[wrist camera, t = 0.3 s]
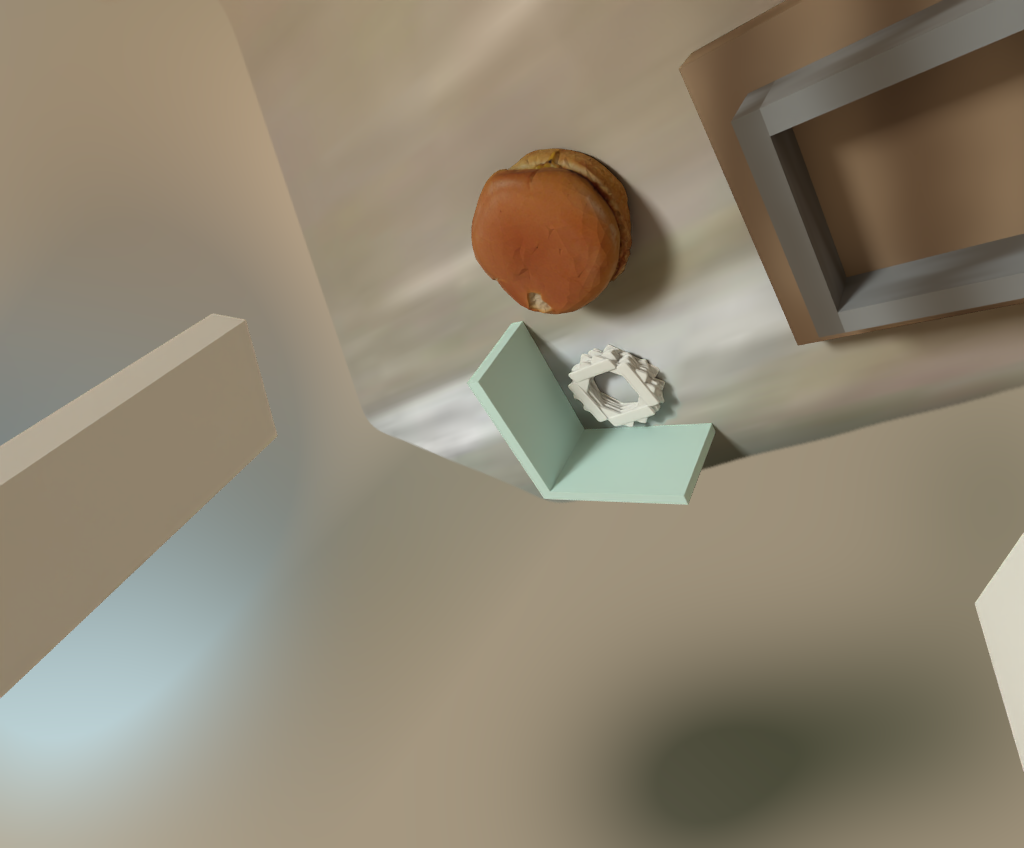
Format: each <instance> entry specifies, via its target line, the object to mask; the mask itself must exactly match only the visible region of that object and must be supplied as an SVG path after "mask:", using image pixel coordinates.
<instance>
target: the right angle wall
mask: <svg viewBox="0 0 1024 848" xmlns="http://www.w3.org/2000/svg"><path fill="white" fill-rule="evenodd" d="M580 359H581V361H580V363H579V364H577V365H575V366H574V367H573V368H572V369H571V370H572V372H571V373H569V377H570V378H571V379H572V382H571V384H569V385H568V388H569V389H570V390H571V391H572V392H573V393H574V396H573V397H574V398H575V399H577V400H580V401H581V402H582V404H583V409H584V410H586V411H589V412H591V414H592V415H593V416H594V417H595V418H596V419H597V420H598V421H599V422H602V421H605V420H607V419H608V420H609V421H610V422H611V423H612V424H613V425H614V426H616V427H617V426H620V425H626V426H629V427H623V428H603V429H584V428H583V426H582V424H581V422H580V421H579V419H578V417H577V415H576V414H575V412H574V410H573V408H572V407H571V405H570V403H569V401H568V400H567V398H566V396H565V394H564V393H563V391H562V389H561V387H560V386H559V384H558V382H557V380H556V379H555V377H554V375H553V373H552V372H551V370H550V368H549V366H548V365H547V363H546V361H545V359H544V358H543V356H542V354H541V352H540V351H539V349H538V347H537V345H536V344H535V342H534V340H533V338H532V337H531V335H530V333H529V331H528V330H527V328H526V326H525V324H524V323H523V321H521V322H515V323H512V324H511V325H510V326H509V328H508V329H507V330H506V332H505V333H504V334H503V336H502V337H501V338H500V340H499V341H498V342H497V344H496V345H495V346H494V348H493V349H492V350H491V352H490V353H489V354H488V356H487V357H486V358H485V360H484V361H483V362H482V364H481V365H480V366H479V368H478V369H477V370H476V372H475V373H474V374H473V376H472V377H471V378H470V380H469V381H468V383H467V384H468V385H469V387H470V388H471V390H472V391H473V393H474V394H475V396H476V397H477V399H478V400H479V402H480V403H481V405H482V406H483V408H484V409H485V411H486V412H487V414H488V415H489V417H490V418H491V420H492V421H493V423H494V424H495V426H496V427H497V429H498V430H499V432H500V433H501V435H502V436H503V438H504V439H505V441H506V442H507V444H508V445H509V447H510V448H511V450H512V451H513V453H514V454H515V456H516V457H517V459H518V460H519V462H520V463H521V465H522V466H523V468H524V469H525V471H526V472H527V474H528V475H529V477H530V478H531V480H532V481H533V483H534V484H535V486H536V487H537V489H538V490H539V492H540V493H541V495H542V496H543V497H544V499H561V500H586V501H612V502H635V503H660V504H686V505H688V504H689V501H690V498H691V496H692V493H693V490H694V488H695V485H696V482H697V480H698V477H699V475H700V472H701V469H702V467H703V464H704V461H705V459H706V456H707V453H708V451H709V448H710V446H711V443H712V440H713V438H714V435H715V429H714V427H713V425H712V423H705V424H685V425H664V426H644V427H633V425H634V421H638V422H641V423H646V422H647V419H648V417H649V416H652V415H654V414H655V413H656V411H658V410H659V408H660V407H661V406H660V405H659V403H663V402H664V398H663V393H662V392H661V391H662V390H663V386H664V385H665V382H664V381H662V380H660V379H657V378H655V377H656V376H657V374H658V372H659V368H657V367H655V366H653V365H651V364H649V363H648V362H647V361H646V360H645V359H639V358H637V357H635V356H632V355H631V354H630V353H629V352H624V351H622V350H620V349H618V348H616V347H614V346H611V345H607V347H606V349H604V350H603V352H602V351H601V350H599V349H596V348H594V349H593V350H590V351H589V353H588V355H587V354H582V355H581V358H580ZM608 371H609V372H612V373H615V374H618V375H621V376H623V377H624V378H625V379H626V380H627V382H628V383H629V384H630V385H631V386H632V388H633V389H634V390H635V391H636V392H637V393H638V395H639V399H638V402H632V403H622V402H620V401H618V400H616V399H614V398H612V397H610V396H608V395H606V394H604V393H602V392H600V391H599V389H598V387H597V385H596V383H595V381H594V378H595V376H597V375H599V374H602V373H605V372H608Z"/></svg>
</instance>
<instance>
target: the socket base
mask: <svg viewBox="0 0 1024 848" xmlns="http://www.w3.org/2000/svg"><path fill="white" fill-rule="evenodd" d="M679 71H680V73H681V75H682V77H683V80H684V82H685V84H686V87H687V89H688V91H689V94H690V96H691V98H692V101H693V103H694V105H695V108H696V110H697V112H698V115H699V117H700V119H701V122H702V124H703V126H704V129H705V131H706V133H707V136H708V138H709V140H710V142H711V145H712V147H713V149H714V152H715V154H716V156H717V159H718V161H719V163H720V166H721V168H722V170H723V173H724V175H725V177H726V180H727V182H728V184H729V187H730V189H731V191H732V194H733V196H734V198H735V201H736V203H737V205H738V207H739V210H740V212H741V214H742V217H743V219H744V221H745V224H746V226H747V228H748V231H749V233H750V235H751V238H752V240H753V242H754V245H755V247H756V249H757V252H758V254H759V256H760V259H761V261H762V263H763V266H764V268H765V270H766V272H767V275H768V277H769V279H770V282H771V284H772V286H773V289H774V291H775V293H776V296H777V298H778V300H779V303H780V305H781V307H782V310H783V312H784V314H785V317H786V319H787V321H788V324H789V326H790V328H791V331H792V333H793V335H794V337H795V340H796V342H797V344H798V345H803V344H808V343H814V342H819V341H824V340H829V339H835V338H840V337H845V336H851V335H856V334H861V333H867V332H872V331H877V330H882V329H888V328H893V327H898V326H904V325H909V324H914V323H920V322H925V321H930V320H935V319H941V318H946V317H951V316H957V315H962V314H967V313H973V312H978V311H983V310H988V309H994V308H999V307H1004V306H1010V305H1015V304H1020V303H1024V0H786V1H784V2H782V3H781V4H779V5H777V6H775V7H773V8H772V9H770V10H768V11H766V12H764V13H763V14H761V15H759V16H757V17H756V18H754V19H752V20H750V21H748V22H747V23H745V24H743V25H741V26H739V27H738V28H736V29H734V30H732V31H730V32H729V33H727V34H725V35H723V36H722V37H720V38H718V39H716V40H714V41H713V42H711V43H709V44H707V45H705V46H704V47H702V48H700V49H698V50H697V51H695V52H693V53H691V55H690V56H689V57H688V58H687V59H686V61H685V62H684V63H683V64H682V66H681V67H680V68H679Z"/></svg>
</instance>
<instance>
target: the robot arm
mask: <svg viewBox="0 0 1024 848" xmlns="http://www.w3.org/2000/svg"><path fill="white" fill-rule="evenodd" d="M276 437H277V432H276V428H275V425H274V421H273V417H272V414H271V410H270V406H269V403H268V399H267V395H266V392H265V388H264V384H263V381H262V377H261V373H260V370H259V366H258V362H257V359H256V355H255V351H254V348H253V344H252V340H251V337H250V333H249V330H248V326H247V322H246V320H245V319H239V318H234V317H228V316H223V315H218V314H211V315H209V316H208V317H206V318H204V319H203V320H201V321H200V322H198V323H196V324H195V325H193V326H192V327H190V328H188V329H187V330H186V331H184V332H182V333H180V334H179V335H177V336H176V337H174V338H173V339H171V340H169V341H168V342H166V343H165V344H163V345H161V346H160V347H158V348H156V349H155V350H153V351H152V352H150V353H148V354H147V355H145V356H144V357H142V358H140V359H139V360H137V361H136V362H134V363H132V364H131V365H129V366H128V367H126V368H124V369H123V370H121V371H120V372H118V373H116V374H115V375H113V376H112V377H110V378H108V379H107V380H105V381H104V382H102V383H100V384H99V385H97V386H96V387H94V388H92V389H91V390H89V391H88V392H86V393H85V394H83V395H81V396H80V397H78V398H76V399H75V400H73V401H72V402H70V403H68V404H67V405H65V406H64V407H62V408H60V409H59V410H57V411H56V412H54V413H52V414H51V415H49V416H48V417H46V418H45V419H43V420H41V421H40V422H38V423H37V424H35V425H33V426H32V427H30V428H29V429H27V430H26V431H24V432H22V433H20V434H19V435H17V436H16V437H14V438H12V439H11V440H9V441H8V442H6V443H4V444H3V445H1V446H0V698H1V697H2V696H3V695H4V694H5V693H7V692H8V691H9V690H10V689H11V688H12V687H13V686H14V685H15V684H16V683H17V682H18V681H19V680H20V679H21V678H22V677H23V676H25V674H27V673H28V672H29V671H30V670H31V669H32V668H33V667H34V666H35V665H36V664H37V663H38V662H39V661H40V660H41V659H42V658H44V656H46V655H47V654H48V653H49V652H50V651H51V650H52V649H53V648H54V647H55V646H56V645H57V644H58V643H59V642H60V641H61V640H62V639H64V638H65V637H66V636H67V635H68V634H69V633H70V632H71V631H72V630H73V629H74V628H75V627H76V626H77V625H78V624H79V623H81V621H83V620H84V619H85V618H86V617H87V616H88V615H89V614H90V613H91V612H92V611H93V610H94V609H95V608H96V607H97V606H98V605H100V604H101V603H102V602H103V601H104V600H105V599H106V598H107V597H108V596H109V595H110V594H111V593H112V592H113V591H114V590H115V589H116V588H118V587H119V586H120V585H121V584H122V583H123V582H124V581H125V580H126V579H127V578H128V577H129V576H130V575H131V574H132V573H133V572H134V571H135V570H136V569H138V568H139V567H140V566H141V565H142V564H143V563H144V562H145V561H146V560H147V559H148V558H149V557H150V556H151V555H152V554H153V553H154V552H156V551H157V550H158V549H159V548H160V547H161V546H162V545H163V544H164V543H165V542H166V541H167V540H168V539H169V538H170V537H171V536H172V535H174V534H175V533H176V532H177V531H178V530H179V529H180V528H181V527H182V526H183V525H184V524H185V523H186V522H187V521H188V520H189V519H190V518H191V517H192V516H194V515H195V514H196V513H197V512H198V511H199V510H200V509H201V508H202V507H203V506H204V505H205V504H206V503H207V502H208V501H209V500H210V499H212V498H213V497H214V496H215V495H216V494H217V493H218V492H219V491H220V490H221V489H222V488H223V487H224V486H225V485H226V484H227V483H228V482H229V481H231V480H232V479H233V478H234V477H235V476H236V475H237V474H238V473H239V472H240V471H241V470H242V469H243V468H244V467H245V466H246V465H248V464H249V463H250V462H251V461H252V460H253V459H254V458H255V457H256V456H257V455H258V454H259V453H260V452H261V451H262V450H263V449H264V448H265V447H267V445H269V444H270V443H271V442H272V441H273V440H274V439H275V438H276ZM975 605H976V609H977V613H978V616H979V619H980V623H981V626H982V630H983V633H984V637H985V640H986V643H987V647H988V650H989V654H990V657H991V661H992V664H993V667H994V671H995V674H996V678H997V681H998V685H999V688H1000V692H1001V695H1002V698H1003V702H1004V705H1005V708H1006V712H1007V715H1008V719H1009V722H1010V726H1011V729H1012V733H1013V736H1014V740H1015V743H1016V746H1017V749H1018V753H1019V757H1020V760H1021V763H1022V767H1023V770H1024V533H1023V534H1022V536H1021V537H1020V539H1019V540H1018V542H1017V543H1016V545H1015V546H1014V547H1013V549H1012V550H1011V552H1010V553H1009V555H1008V556H1007V558H1006V559H1005V561H1004V562H1003V563H1002V565H1001V566H1000V568H999V569H998V571H997V572H996V573H995V575H994V576H993V578H992V579H991V581H990V582H989V584H988V585H987V587H986V588H985V590H984V591H983V592H982V594H981V595H980V597H979V598H978V600H977V601H976V602H975Z"/></svg>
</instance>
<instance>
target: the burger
mask: <svg viewBox="0 0 1024 848" xmlns="http://www.w3.org/2000/svg"><path fill="white" fill-rule="evenodd" d="M627 200H628V198H627V194H626V191H625V189H624V187H623V185H622V184H621V182H620V181H619V180H618V179H617V178H616V177H615V176H614V175H613V174H612V173H611V172H610V171H609V170H608V169H607V168H606V167H604V166H603V165H602V164H601V163H600V162H598V161H597V160H595V159H594V158H592V157H590V156H587V155H585V154H583V153H580V152H576V151H572V150H565V149H544V150H536V151H533V152H531V153H529V154H527V155H525V156H524V157H523V158H522V159H520V160H519V161H518V162H517V163H516V164H515V165H513V166H512V167H511V168H509V169H508V170H507V169H503V170H499V171H497V172H496V173H494V174H493V175H492V176H491V177H490V178H489V179H488V180H487V182H486V184H485V186H484V188H483V190H482V192H481V194H480V197H479V200H478V204H477V207H476V210H475V214H474V217H473V221H472V246H473V250H474V254H475V257H476V260H477V261H478V262H479V264H480V265H481V267H482V268H483V269H484V271H485V272H486V273H487V275H489V276H490V277H491V278H492V279H493V280H497V281H498V282H499V284H500V285H501V287H502V288H503V289H504V290H505V291H506V292H507V293H508V294H509V295H510V296H511V297H512V298H513V299H514V300H515V301H516V302H518V303H519V304H520V305H522V306H524V307H525V308H527V309H529V310H532V311H537V312H542V313H549V314H561V313H567V312H573V311H576V310H578V309H580V308H582V307H583V306H585V305H587V304H588V303H590V302H591V301H593V300H594V299H595V298H597V297H598V296H599V295H600V294H601V292H602V291H603V290H604V289H605V288H606V287H607V285H608V283H609V282H610V281H613V280H615V279H616V278H617V276H618V275H620V274H621V273H622V272H623V271H624V269H625V265H626V263H627V261H628V259H627V258H628V257H629V255H630V248H631V244H632V239H631V234H630V232H631V223H630V212H629V208H628V204H627Z"/></svg>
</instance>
